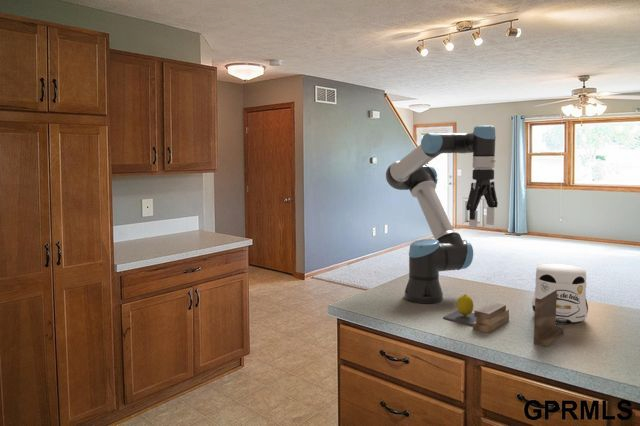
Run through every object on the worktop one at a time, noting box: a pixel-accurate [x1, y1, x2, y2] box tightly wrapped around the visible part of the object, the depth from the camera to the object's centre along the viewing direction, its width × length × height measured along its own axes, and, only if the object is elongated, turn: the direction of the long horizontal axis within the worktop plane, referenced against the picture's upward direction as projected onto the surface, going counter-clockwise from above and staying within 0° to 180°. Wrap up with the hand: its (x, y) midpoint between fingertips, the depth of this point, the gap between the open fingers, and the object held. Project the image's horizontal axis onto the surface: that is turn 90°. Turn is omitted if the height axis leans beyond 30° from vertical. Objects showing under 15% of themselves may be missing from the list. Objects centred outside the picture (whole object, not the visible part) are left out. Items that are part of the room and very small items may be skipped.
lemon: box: [456, 293, 474, 316], centre depth 166 cm, size 6×6×8 cm
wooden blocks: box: [472, 289, 565, 348], centre depth 153 cm, size 23×16×14 cm
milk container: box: [531, 263, 589, 325], centre depth 163 cm, size 17×17×18 cm
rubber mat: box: [442, 309, 476, 327], centre depth 166 cm, size 11×11×1 cm
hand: (481, 226), depth 175 cm, fingers open, 13 cm apart
